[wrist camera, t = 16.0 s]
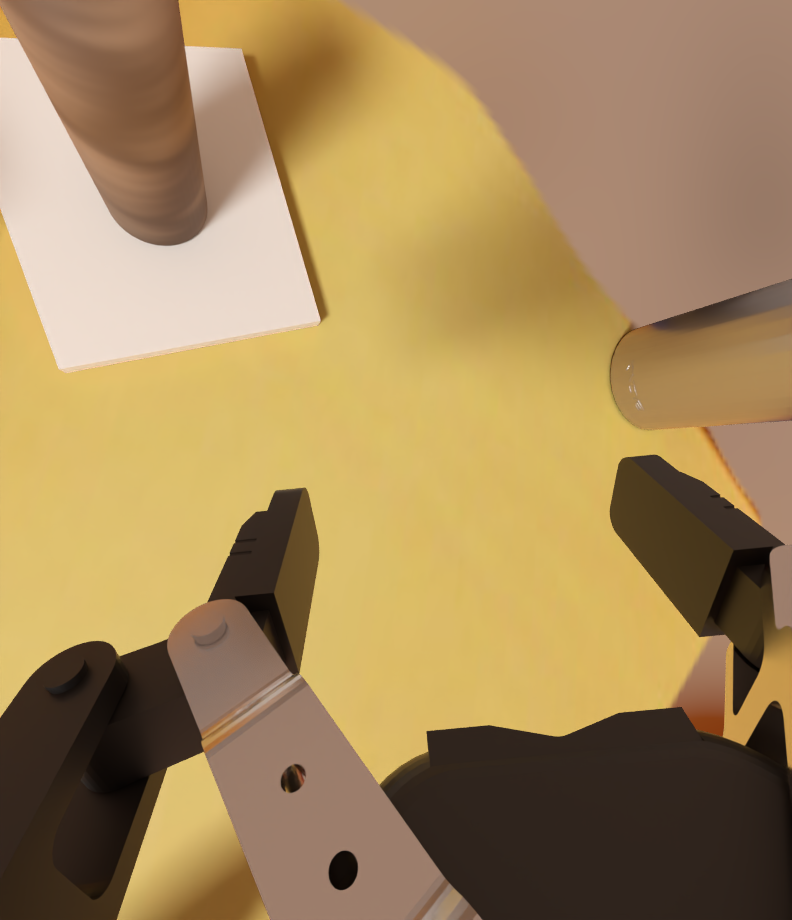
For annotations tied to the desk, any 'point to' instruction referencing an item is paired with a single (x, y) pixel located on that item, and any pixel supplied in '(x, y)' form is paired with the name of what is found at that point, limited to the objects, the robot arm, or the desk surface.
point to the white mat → (134, 261)
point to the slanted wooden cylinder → (122, 105)
